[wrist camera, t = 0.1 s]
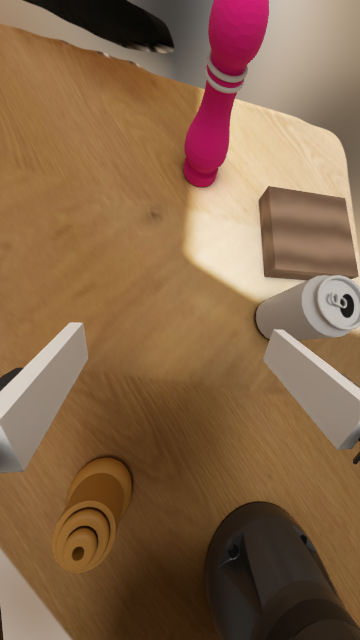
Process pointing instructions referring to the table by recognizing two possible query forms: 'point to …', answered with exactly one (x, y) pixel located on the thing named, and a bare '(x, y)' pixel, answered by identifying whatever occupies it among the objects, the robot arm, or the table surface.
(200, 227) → the table surface
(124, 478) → the ornamental finial
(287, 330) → the can
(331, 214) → the walnut plinth
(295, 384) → the robot arm
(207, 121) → the pepper mill
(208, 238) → the table surface
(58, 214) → the table surface
